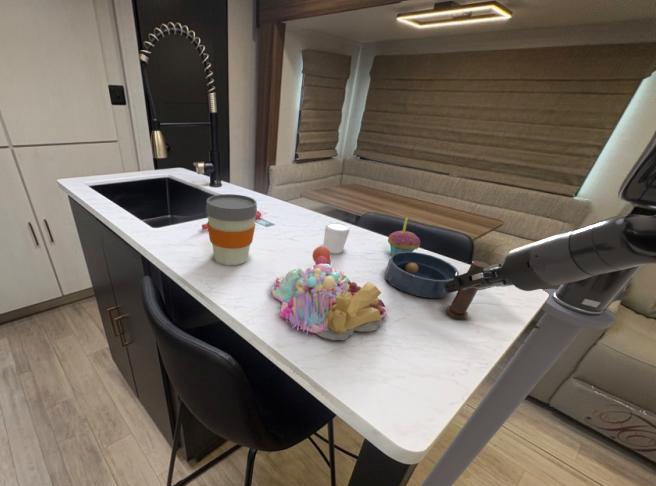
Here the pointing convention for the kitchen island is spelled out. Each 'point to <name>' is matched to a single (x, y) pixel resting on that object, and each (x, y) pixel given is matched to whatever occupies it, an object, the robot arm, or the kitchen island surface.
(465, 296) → the brown flared cylinder
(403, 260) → the bowl
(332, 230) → the white short cylinder
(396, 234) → the cupcake
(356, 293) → the multicoloured low lumpy mound
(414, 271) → the bead
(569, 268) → the robot arm
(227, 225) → the reusable coffee cup
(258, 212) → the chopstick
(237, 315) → the kitchen island surface
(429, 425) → the kitchen island surface
